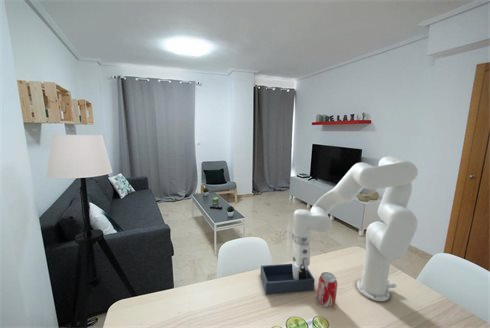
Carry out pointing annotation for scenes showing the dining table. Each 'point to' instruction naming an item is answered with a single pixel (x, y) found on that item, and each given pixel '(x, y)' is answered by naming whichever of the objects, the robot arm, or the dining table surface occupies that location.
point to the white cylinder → (296, 270)
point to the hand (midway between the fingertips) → (298, 272)
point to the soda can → (327, 290)
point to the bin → (284, 280)
